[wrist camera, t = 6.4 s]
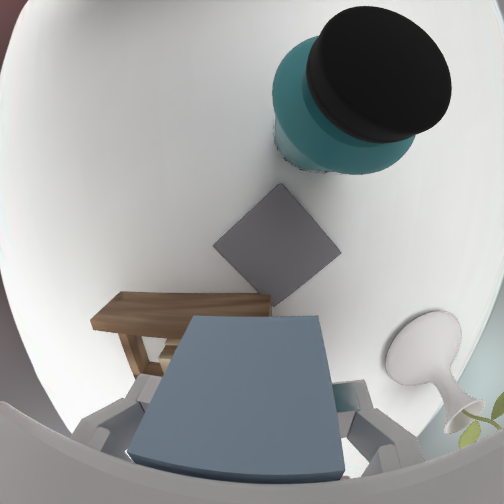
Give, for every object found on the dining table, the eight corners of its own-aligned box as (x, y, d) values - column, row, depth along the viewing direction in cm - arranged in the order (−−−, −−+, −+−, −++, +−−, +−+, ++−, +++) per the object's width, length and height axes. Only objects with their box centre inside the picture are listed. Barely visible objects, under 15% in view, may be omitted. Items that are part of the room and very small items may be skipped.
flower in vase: (414, 383, 32) (467, 523, 8) (364, 359, 31) (415, 544, 7) (474, 316, 28) (570, 439, 4) (433, 277, 27) (569, 435, 3)
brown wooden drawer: (120, 291, 31) (89, 319, 24) (270, 292, 29) (268, 330, 22) (144, 367, 34) (123, 400, 28) (273, 376, 32) (271, 417, 26)
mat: (280, 182, 25) (280, 183, 25) (340, 251, 27) (341, 253, 26) (213, 244, 28) (212, 246, 27) (273, 305, 29) (273, 307, 29)
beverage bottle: (269, 165, 25) (240, 166, 6) (278, 98, 23) (276, -48, 4) (337, 177, 24) (477, 220, 6) (346, 111, 22) (480, 23, 3)
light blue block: (193, 315, 13) (126, 451, 6) (317, 315, 13) (345, 470, 5) (202, 360, 14) (157, 488, 7) (313, 362, 14) (327, 501, 6)
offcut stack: (168, 336, 32) (155, 358, 28) (223, 336, 31) (215, 360, 27) (176, 360, 33) (165, 383, 29) (229, 361, 32) (222, 386, 28)
